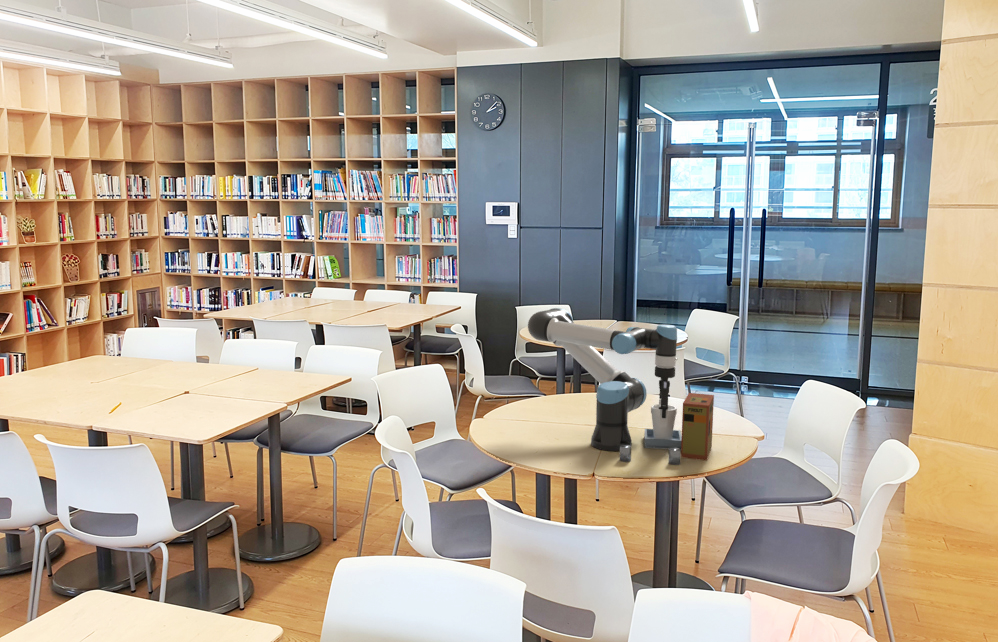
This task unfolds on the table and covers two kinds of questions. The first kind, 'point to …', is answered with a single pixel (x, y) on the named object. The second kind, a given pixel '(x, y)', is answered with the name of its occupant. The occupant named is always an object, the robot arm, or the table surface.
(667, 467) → the table surface
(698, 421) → the box
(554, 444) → the table surface
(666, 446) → the tray
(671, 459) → the shiny gray cylinder
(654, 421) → the foam cup
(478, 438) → the table surface
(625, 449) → the metal cylinder
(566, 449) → the table surface
